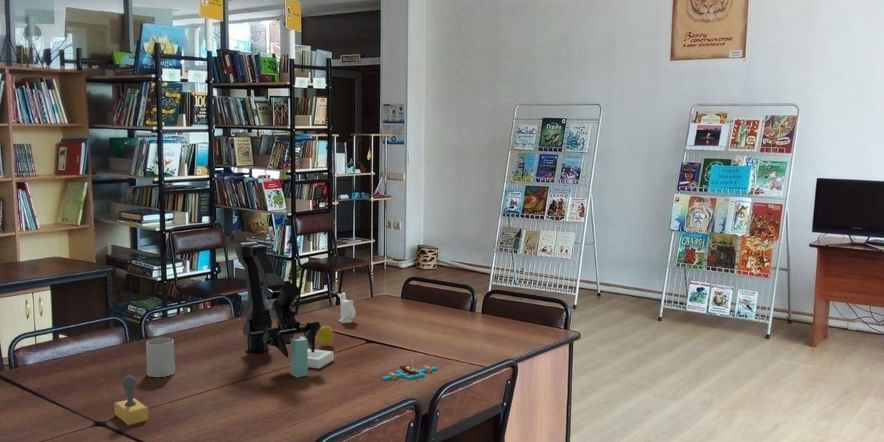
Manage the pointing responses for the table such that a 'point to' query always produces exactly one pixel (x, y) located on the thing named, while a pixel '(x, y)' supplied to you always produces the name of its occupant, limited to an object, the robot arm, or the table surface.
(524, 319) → the table surface
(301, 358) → the pillar
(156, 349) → the mug
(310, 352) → the plinth
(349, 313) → the white upright figurine
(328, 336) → the lemon
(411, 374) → the gear mechanism
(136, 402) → the rubber stamp
